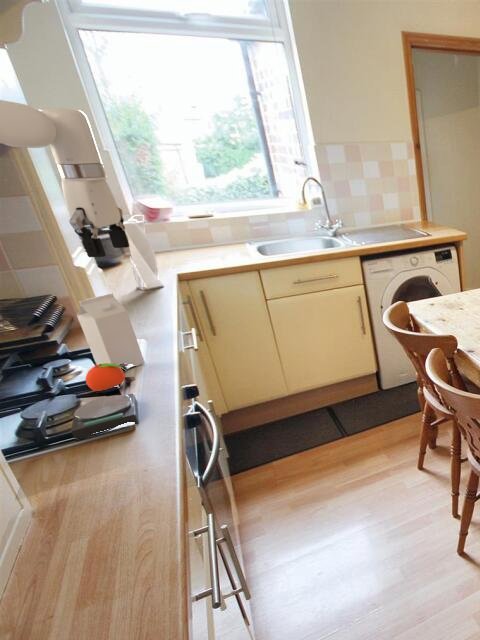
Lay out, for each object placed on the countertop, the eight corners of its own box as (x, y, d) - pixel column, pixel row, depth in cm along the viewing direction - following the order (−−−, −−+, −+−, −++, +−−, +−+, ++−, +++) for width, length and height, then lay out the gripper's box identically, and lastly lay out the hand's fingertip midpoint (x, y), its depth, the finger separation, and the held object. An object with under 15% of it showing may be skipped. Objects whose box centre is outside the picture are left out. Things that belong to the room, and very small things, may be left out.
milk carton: (98, 370, 119) (70, 299, 112) (128, 359, 125) (103, 291, 118) (115, 375, 117) (88, 303, 109) (145, 363, 123) (121, 294, 115)
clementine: (139, 381, 113) (129, 355, 111) (127, 395, 107) (117, 367, 105) (99, 386, 111) (89, 360, 108) (85, 400, 105) (74, 373, 102)
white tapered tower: (161, 282, 191) (139, 213, 180) (169, 286, 187) (147, 214, 176) (136, 287, 185) (112, 215, 174) (144, 291, 180) (120, 217, 169)
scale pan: (77, 407, 98) (75, 403, 98) (131, 393, 103) (130, 390, 103) (74, 426, 91) (72, 423, 91) (132, 411, 97) (131, 408, 96)
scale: (79, 417, 99) (73, 405, 98) (137, 402, 105) (133, 391, 104) (75, 441, 91) (70, 429, 90) (138, 424, 97) (134, 412, 96)
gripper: (87, 170, 107) (112, 244, 114) (33, 175, 91) (66, 261, 98) (124, 170, 108) (147, 243, 115) (77, 175, 93) (107, 260, 99)
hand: (110, 251), depth 106 cm, fingers open, 9 cm apart
